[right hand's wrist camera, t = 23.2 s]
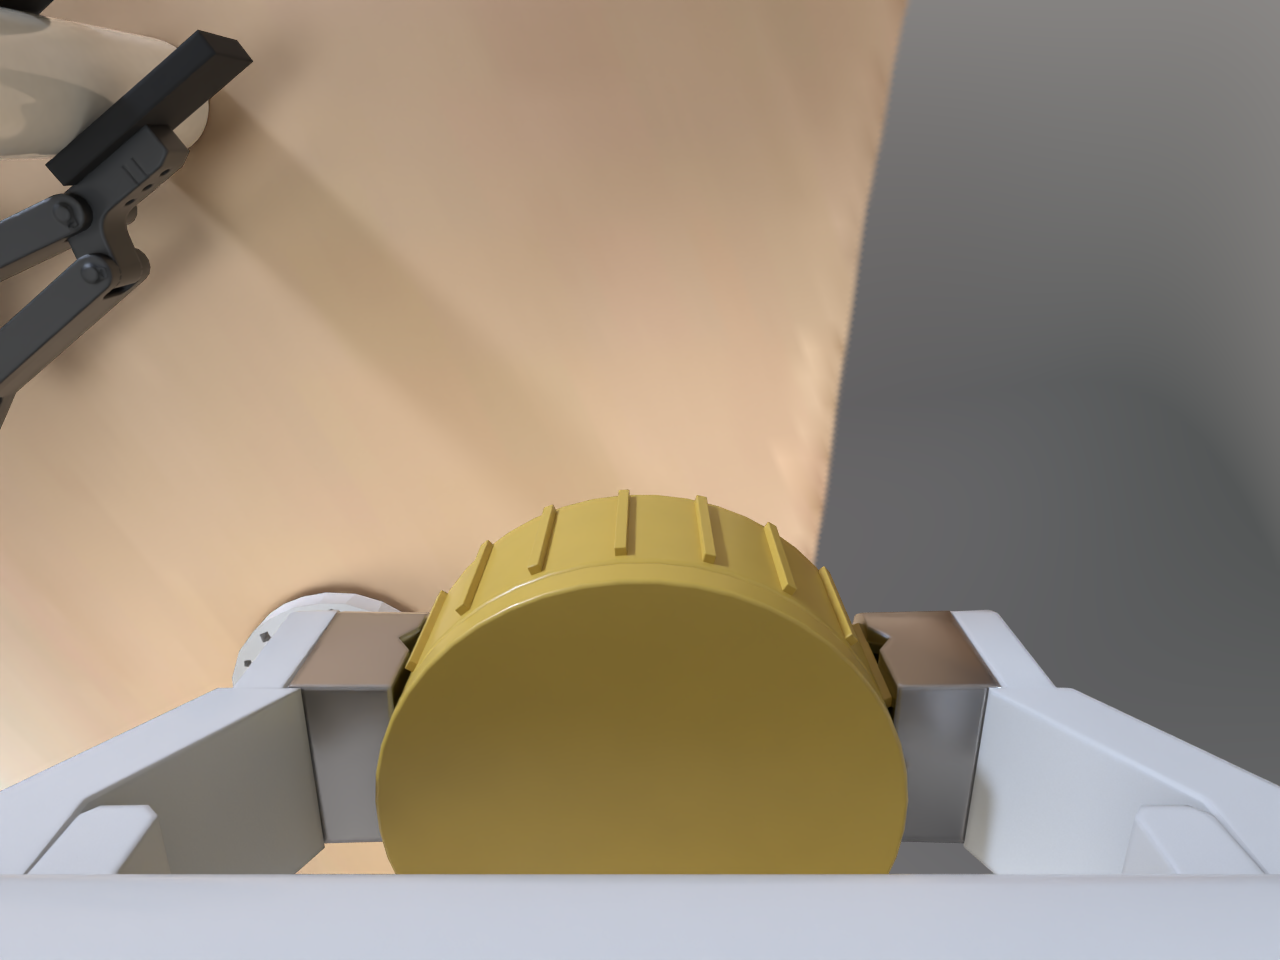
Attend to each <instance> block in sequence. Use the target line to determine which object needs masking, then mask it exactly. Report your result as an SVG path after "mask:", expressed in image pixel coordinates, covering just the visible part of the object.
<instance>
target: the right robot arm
mask: <svg viewBox="0 0 1280 960" xmlns="http://www.w3.org/2000/svg"><path fill="white" fill-rule="evenodd" d="M429 614H430V613H421V612H366V611H342V612H340V611H339V610H321V611H297V612H291V613H290V614H289V615H288V616H287V618H286V619H285V620H284V621H283V623H282V624H281V625H280V627H279V628H278V629H277V631H276V632H275V633H274V634H273V636H272V637H271V638H270V640H269V641H268V642H267V644H266V645H265V646H264V648H263V649H262V650H261V651H260V653H259V654H258V655H257V657H256V658H255V659H254V661H253V662H252V663H251V664H250V666H249V667H248V668H247V670H246V671H245V672H244V674H243V675H242V676H241V678H240V679H239V680H238V681H237V683H236V684H235V685H234V687H233V688H217V689H215V690H213V691H211V692H209V693H206V694H204V695H202V696H200V697H198V698H196V699H194V700H192V701H190V702H187V703H185V704H183V705H181V706H179V707H177V708H175V709H173V710H171V711H168V712H166V713H164V714H162V715H160V716H158V717H156V718H154V719H152V720H150V721H147V722H145V723H143V724H141V725H139V726H137V727H135V728H133V729H131V730H128V731H126V732H124V733H122V734H120V735H118V736H116V737H114V738H112V739H109V740H107V741H105V742H103V743H101V744H99V745H97V746H95V747H93V748H90V749H88V750H86V751H84V752H82V753H80V754H78V755H76V756H74V757H72V758H69V759H67V760H65V761H63V762H61V763H59V764H57V765H55V766H53V767H50V768H48V769H46V770H44V771H42V772H40V773H38V774H36V775H34V776H31V777H29V778H27V779H25V780H23V781H21V782H19V783H17V784H15V785H13V786H10V787H8V788H6V789H4V790H2V791H0V960H1280V786H1278V785H1276V784H1274V783H1272V782H1270V781H1268V780H1265V779H1263V778H1261V777H1259V776H1257V775H1255V774H1253V773H1251V772H1248V771H1246V770H1244V769H1242V768H1240V767H1238V766H1236V765H1234V764H1232V763H1229V762H1227V761H1225V760H1223V759H1221V758H1219V757H1217V756H1214V755H1212V754H1210V753H1208V752H1206V751H1204V750H1202V749H1200V748H1198V747H1195V746H1193V745H1191V744H1189V743H1187V742H1185V741H1183V740H1181V739H1178V738H1176V737H1174V736H1172V735H1170V734H1168V733H1166V732H1164V731H1161V730H1159V729H1157V728H1155V727H1153V726H1151V725H1149V724H1147V723H1145V722H1142V721H1140V720H1138V719H1136V718H1134V717H1132V716H1130V715H1128V714H1125V713H1123V712H1121V711H1119V710H1117V709H1115V708H1113V707H1111V706H1109V705H1106V704H1104V703H1102V702H1100V701H1098V700H1096V699H1094V698H1091V697H1089V696H1087V695H1085V694H1083V693H1081V692H1079V691H1077V690H1075V689H1072V688H1056V686H1055V685H1054V684H1053V683H1052V681H1051V680H1050V679H1049V677H1048V676H1047V675H1046V674H1045V672H1044V671H1043V670H1042V669H1041V667H1040V666H1039V665H1038V664H1037V662H1036V661H1035V660H1034V658H1033V657H1032V656H1031V655H1030V653H1029V652H1028V651H1027V650H1026V648H1025V647H1024V646H1023V644H1022V643H1021V642H1020V641H1019V639H1018V638H1017V637H1016V636H1015V634H1014V633H1013V632H1012V631H1011V629H1010V628H1009V627H1008V626H1007V624H1006V623H1005V622H1004V620H1003V619H1002V618H1001V617H1000V615H999V614H998V613H996V612H993V611H991V610H976V611H953V612H950V611H919V612H878V613H860V614H856V615H855V617H854V621H853V624H856V623H859V625H860V627H861V630H862V632H863V634H864V636H865V639H866V641H867V642H868V643H869V646H870V648H871V650H872V652H873V655H874V657H875V659H876V661H877V664H878V668H879V670H880V672H881V674H882V676H883V678H884V681H885V683H886V685H887V687H888V689H889V692H890V694H891V696H892V702H891V707H888V708H887V709H888V711H889V713H890V716H891V718H892V721H893V724H894V726H895V729H896V731H897V734H898V737H899V739H900V742H901V745H902V750H903V755H904V760H905V764H906V769H907V783H908V806H907V814H906V822H905V829H904V833H903V836H902V840H901V842H939V843H964V848H966V849H967V850H968V851H969V852H970V853H971V854H972V855H974V856H975V857H976V858H977V859H978V860H979V861H980V862H982V863H983V864H984V865H985V866H986V867H987V868H988V869H990V870H991V871H992V872H993V873H994V874H295V873H296V872H298V871H299V870H300V869H301V868H302V867H303V866H304V865H306V864H307V863H308V862H309V861H310V860H311V859H312V858H313V857H315V856H316V855H317V854H318V853H319V852H320V851H321V850H322V849H324V848H325V846H324V843H349V842H383V841H382V837H381V834H380V831H379V824H378V817H377V810H376V803H375V789H376V769H377V764H378V759H379V753H380V748H381V744H382V741H383V738H384V735H385V733H386V730H387V727H388V724H389V722H390V719H391V716H392V714H393V712H394V710H395V707H396V705H397V703H398V700H399V698H400V697H401V694H402V691H403V689H404V687H405V685H406V682H407V680H408V678H409V676H410V673H411V671H409V670H407V669H405V666H406V664H407V662H408V660H409V658H410V655H411V653H412V651H413V649H414V647H415V644H416V642H417V640H418V638H419V636H420V633H421V631H422V629H423V627H424V625H425V622H426V620H427V618H428V616H429Z"/></svg>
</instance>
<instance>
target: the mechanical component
mask: <svg viewBox="0 0 1280 960" xmlns="http://www.w3.org/2000/svg"><path fill="white" fill-rule="evenodd" d="M321 610H339V611H340V612H342V611H366V612H401V611H399V610H397V609H395V608H393V607H392V606H390V605H388V604H386V603H384V602H382V601H379V600H375V599H372V598H368V597H365V596H361V595H358V594H348V593H321V594H315V595H310V596H304V597H301V598H298V599H296V600H293V601H290V602H288V603H285V604H283V605H282V606H280V607H279V608H277V609H276V610H274V611H273V612H271V613H270V614H269V615H268V616H267V617H266V618H265V619H264V621H263V622H262V623H261V624H260V625H259V626H258V627H257V628H256V629H255V630H254V632H253V633H252V634H251V636H250V637H249V638H248V640H247V641H246V643H245V644H244V645H243V647H242V648H241V650H240V651H239V654H238V658H237V662H236V666H235V669H234V673H233V677H232V681H233V687H234V685H235V684H236V683H237V681H238V680H239V679H240V678H241V676H242V675H243V674H244V672H245V671H246V670H247V668H248V667H249V666H250V664H251V663H252V662H253V661H254V659H255V658H256V657H257V655H258V654H259V653H260V651H261V650H262V649H263V648H264V646H265V645H266V644H267V642H268V641H269V640H270V638H271V637H272V636H273V634H274V633H275V632H276V631H277V629H278V628H279V627H280V625H281V624H282V623H283V621H284V620H285V619H286V618H287V616H288V615H289V614H290V613H291V612H297V611H321Z"/></svg>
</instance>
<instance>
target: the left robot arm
mask: <svg viewBox="0 0 1280 960" xmlns="http://www.w3.org/2000/svg"><path fill="white" fill-rule="evenodd" d="M52 1H53V0H0V7H4V8H9V9H14V10H19V11H24V12H29V13H34V14H40V13H41V12H42V11H43V10H44V9H45V8H46V7H47V6H48V5H49V4H50V3H51V2H52ZM252 62H253V60H252V59H251V58H250V57H249V55H248V54H247V53H246V51H245V50H244V49H243V47H242V46H241V45H240V44H239V42H238V41H237V40H234V39H230V38H227V37H223V36H219V35H215V34H212V33H208V32H204V31H200V30H197V31H196V32H195V33H194V34H193V35H191V36H190V37H189V38H188V39H187V40H186V41H185V42H183V43H182V44H181V45H180V46H179V47H178V48H177V49H176V50H174V51H173V52H172V53H171V54H170V55H169V56H168V57H166V58H165V59H164V60H163V61H162V62H161V63H160V64H159V65H157V66H156V67H155V68H154V69H153V70H152V71H151V72H150V73H148V74H147V75H146V76H145V77H144V78H143V79H142V80H140V81H139V82H138V83H137V84H136V85H135V86H134V87H133V88H131V89H130V90H129V91H128V92H127V93H126V94H125V95H123V96H122V97H121V98H120V99H119V100H118V101H117V102H116V103H114V104H113V105H112V106H111V107H110V108H109V109H108V110H107V111H105V112H104V113H103V114H102V115H101V116H100V117H99V118H97V119H96V120H95V121H94V122H93V123H92V124H91V125H90V126H88V127H87V128H86V129H85V130H84V131H83V132H82V133H80V134H79V135H78V136H77V137H76V138H75V139H74V140H73V141H71V142H70V143H69V144H68V145H67V146H66V147H65V148H63V149H62V150H61V151H60V152H59V153H58V154H57V155H56V156H54V157H53V158H52V159H51V160H50V161H49V162H48V163H47V164H45V165H46V166H47V168H48V169H49V170H50V171H51V172H52V173H53V174H54V176H55V177H56V178H57V179H58V180H59V181H60V182H61V184H62V185H63V186H70V185H73V186H72V187H71V188H69V189H68V190H67V191H66V192H65V193H64V194H57V195H53V196H51V197H49V198H47V199H45V200H43V201H41V202H39V203H37V204H35V205H33V206H30V207H28V208H26V209H24V210H22V211H20V212H18V213H16V214H14V215H12V216H10V217H8V218H6V219H4V220H2V221H0V282H1V281H3V280H5V279H7V278H9V277H11V276H14V275H16V274H18V273H20V272H22V271H24V270H26V269H28V268H30V267H32V266H35V265H37V264H39V263H41V262H43V261H45V260H47V259H49V258H51V257H53V256H56V255H58V254H60V253H62V252H64V251H66V250H68V249H70V248H72V250H73V252H74V255H75V257H76V259H77V260H76V261H75V262H74V263H73V264H72V265H70V266H69V267H68V268H67V269H66V270H65V271H64V272H63V273H62V274H61V275H59V276H58V277H57V278H56V279H55V280H54V281H53V282H52V283H51V284H50V285H48V286H47V287H46V288H45V289H44V290H43V291H42V292H41V293H40V294H38V295H37V296H36V297H35V298H34V299H33V300H32V301H31V302H30V303H29V304H27V305H26V306H25V307H24V308H23V309H22V310H21V311H20V312H19V313H17V314H16V315H15V316H14V317H13V318H12V319H11V320H10V321H9V322H8V323H6V324H5V325H4V326H3V327H2V328H1V329H0V429H1V426H2V424H3V422H4V419H5V417H6V415H7V412H8V410H9V408H10V405H11V403H12V401H13V398H14V396H15V394H16V392H17V391H18V390H19V389H21V388H22V387H23V386H24V385H25V384H26V383H27V382H29V381H30V380H31V379H32V378H33V377H34V376H35V375H37V374H38V373H39V372H40V371H41V370H42V369H43V368H45V367H46V366H47V365H48V364H49V363H50V362H51V361H53V360H54V359H55V358H56V357H57V356H58V355H59V354H60V353H62V352H63V351H64V350H65V349H66V348H67V347H68V346H70V345H71V344H72V343H73V342H74V341H75V340H76V339H78V338H79V337H80V336H81V335H82V334H83V333H84V332H86V331H87V330H88V329H89V328H90V327H91V326H92V325H94V324H95V323H96V322H97V321H98V320H99V319H100V318H102V317H103V316H104V315H105V314H106V313H107V312H108V311H110V310H111V309H112V308H113V307H114V306H115V305H116V304H117V303H119V302H120V301H121V300H122V299H123V298H124V297H125V296H127V295H128V294H129V293H130V292H131V291H132V290H133V289H135V288H136V287H137V286H138V285H139V284H140V283H141V282H143V281H144V280H145V279H146V278H147V276H148V275H149V272H150V264H149V260H148V258H147V257H146V255H145V254H144V253H143V252H142V251H140V250H139V249H136V248H135V247H134V245H133V243H132V241H131V238H130V236H129V234H128V231H127V224H130V223H132V222H133V221H134V220H135V218H136V216H137V206H136V205H137V204H138V203H139V202H141V201H142V200H143V199H144V198H145V197H147V196H148V195H149V194H150V193H151V192H152V191H154V190H155V189H156V188H157V187H158V186H160V184H161V183H163V182H164V181H165V180H167V179H168V178H169V177H170V176H171V175H173V174H174V173H175V172H176V171H177V170H178V169H180V168H181V167H182V166H183V165H184V162H185V160H186V158H187V156H188V153H189V150H188V149H187V147H186V146H185V145H184V144H183V142H182V141H181V140H180V139H179V138H178V136H177V135H176V134H175V133H174V131H173V130H174V129H175V128H176V127H178V126H179V125H180V124H181V123H182V122H183V121H184V120H186V119H187V118H188V117H189V116H190V115H191V114H193V113H194V112H195V111H196V110H197V109H198V108H200V107H201V106H202V105H203V104H204V103H205V102H207V101H208V100H209V99H210V98H211V97H212V96H214V95H215V94H216V93H217V92H218V91H219V90H221V89H222V88H223V87H224V86H225V85H226V84H228V83H229V82H230V81H231V80H232V79H233V78H235V77H236V76H237V75H238V74H239V73H240V72H242V71H243V70H244V69H245V68H246V67H247V66H249V65H250V64H251V63H252Z"/></svg>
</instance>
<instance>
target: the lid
mask: <svg viewBox="0 0 1280 960" xmlns="http://www.w3.org/2000/svg"><path fill="white" fill-rule="evenodd" d="M405 669H407V670H409V671H411V673H410V676H409V678H408V680H407V682H406V685H405V687H404V689H403V691H402V694H401V697H400V698H399V700H398V703H397V705H396V707H395V710H394V712H393V714H392V716H391V719H390V722H389V724H388V727H387V730H386V733H385V735H384V738H383V741H382V744H381V748H380V753H379V759H378V764H377V769H376V789H375V803H376V810H377V817H378V824H379V831H380V834H381V837H382V841H383V844H384V847H385V850H386V854H387V857H388V859H389V861H390V863H391V865H392V868H393V870H394V872H395V874H889V872H890V870H891V868H892V866H893V864H894V861H895V859H896V857H897V854H898V850H899V847H900V843H901V840H902V836H903V833H904V829H905V822H906V814H907V806H908V783H907V769H906V764H905V760H904V755H903V750H902V745H901V742H900V739H899V737H898V734H897V731H896V729H895V726H894V724H893V721H892V718H891V716H890V713H889V711H888V709H887V708H888V707H891V702H892V696H891V694H890V692H889V689H888V687H887V685H886V683H885V681H884V678H883V676H882V674H881V672H880V670H879V668H878V664H877V661H876V659H875V657H874V655H873V652H872V650H871V648H870V646H869V643H868V642H867V641H866V639H865V636H864V634H863V632H862V630H861V627H860V625H859V623H856V624H853V625H852V624H851V621H850V619H849V617H848V614H847V612H846V610H845V608H844V605H843V603H842V600H841V598H840V596H839V593H838V591H837V589H836V586H835V584H834V582H833V579H832V577H831V574H830V572H829V571H828V570H827V569H826V568H825V567H822V568H821V569H820V570H818V569H817V568H816V567H815V566H814V565H813V564H812V563H811V562H810V561H809V560H808V559H807V558H806V557H805V556H804V555H803V554H802V553H801V552H800V551H799V550H797V549H796V548H795V547H794V546H792V545H791V544H790V543H788V542H787V541H785V540H784V539H783V538H781V537H780V536H779V533H778V530H777V527H776V526H775V525H773V524H771V523H770V522H768V523H767V524H766V525H765V527H764V526H762V525H760V524H758V523H756V522H754V521H753V520H751V519H749V518H747V517H745V516H742V515H740V514H737V513H734V512H732V511H729V510H726V509H724V508H721V507H719V506H715V505H711V504H708V503H707V498H706V497H703V496H699V495H697V496H696V499H695V500H690V499H685V498H677V497H668V496H660V495H630V494H629V490H619V493H618V496H614V497H607V498H599V499H592V500H588V501H584V502H580V503H576V504H573V505H569V506H565V507H562V508H559V509H557V510H555V508H554V505H550V506H548V507H545V508H544V509H543V513H542V515H541V516H539V517H536V518H534V519H532V520H531V521H529V522H527V523H525V524H523V525H522V526H520V527H518V528H516V529H514V530H512V531H511V532H509V533H508V534H506V535H505V536H504V537H502V538H501V539H499V540H498V541H497V542H495V543H494V544H492V543H491V542H490V541H489V540H487V541H486V542H485V543H483V544H482V545H481V547H480V549H479V552H478V554H477V557H476V559H475V561H474V562H473V563H472V564H471V565H470V566H469V567H468V568H467V569H466V570H465V571H464V572H463V574H462V575H461V576H460V578H459V579H458V580H457V581H456V583H455V584H454V585H453V587H452V588H451V589H450V591H449V592H448V593H446V592H444V591H440V593H439V595H438V596H437V598H436V601H435V603H434V605H433V607H432V609H431V612H430V614H429V616H428V618H427V620H426V622H425V625H424V627H423V629H422V631H421V633H420V636H419V638H418V640H417V642H416V644H415V647H414V649H413V651H412V653H411V655H410V658H409V660H408V662H407V664H406V666H405Z"/></svg>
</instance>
